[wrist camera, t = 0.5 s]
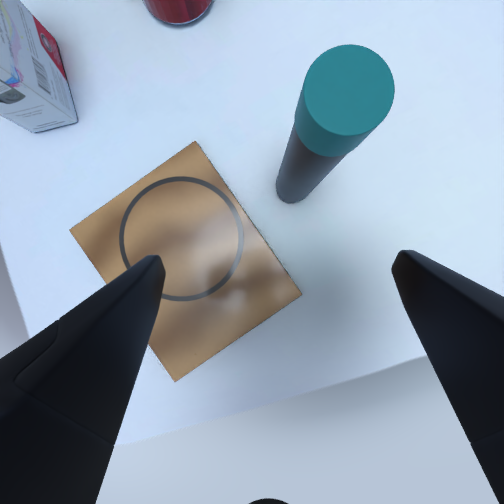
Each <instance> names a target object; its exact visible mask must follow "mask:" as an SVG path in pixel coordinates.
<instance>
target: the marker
mask: <svg viewBox="0 0 504 504" xmlns="http://www.w3.org/2000/svg"><path fill="white" fill-rule="evenodd" d="M394 92H395V88H394V80H393V76H392V73H391V71H390V69H389V67H388V65H387V64H386V62H385V61H384V60H383V59H382V58H381V57H380V56H379V55H378V54H377V53H375V52H374V51H372V50H370V49H368V48H366V47H363V46H359V45H341V46H337V47H334V48H331V49H329V50H327V51H326V52H324V53H323V54H321V55H320V56H319V57H318V58H317V59H316V60H315V61H314V62H313V64H312V65H311V66H310V68H309V70H308V72H307V74H306V77H305V80H304V83H303V87H302V90H301V94H300V97H299V101H298V104H297V108H296V111H295V122H294V125H293V128H292V131H291V135H290V138H289V141H288V144H287V148H286V151H285V154H284V157H283V161H282V164H281V167H280V170H279V174H278V177H277V180H276V189H277V194H278V196H279V197H280V199H281V200H283V201H284V202H287V203H295V202H298V201H301V200H303V199H304V198H305V197H306V196H307V195H308V194H309V193H310V192H311V191H312V190H313V189H314V188H315V187H316V186H317V185H318V184H319V183H320V182H321V181H322V180H323V179H324V178H325V177H326V175H327V174H328V173H329V172H330V171H331V170H332V169H333V168H334V167H335V166H336V165H337V164H338V163H339V162H340V161H341V160H342V159H343V158H344V157H345V156H346V155H347V154H348V153H349V152H351V151H352V150H354V149H355V148H356V147H357V146H358V145H359V144H360V143H361V142H362V141H363V140H364V139H365V138H366V137H367V136H368V135H369V134H370V133H371V132H372V131H373V130H374V129H375V128H376V127H377V126H378V125H379V124H380V123H381V122H382V121H383V120H384V119H385V117H386V116H387V114H388V112H389V111H390V109H391V106H392V103H393V99H394Z"/></svg>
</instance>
